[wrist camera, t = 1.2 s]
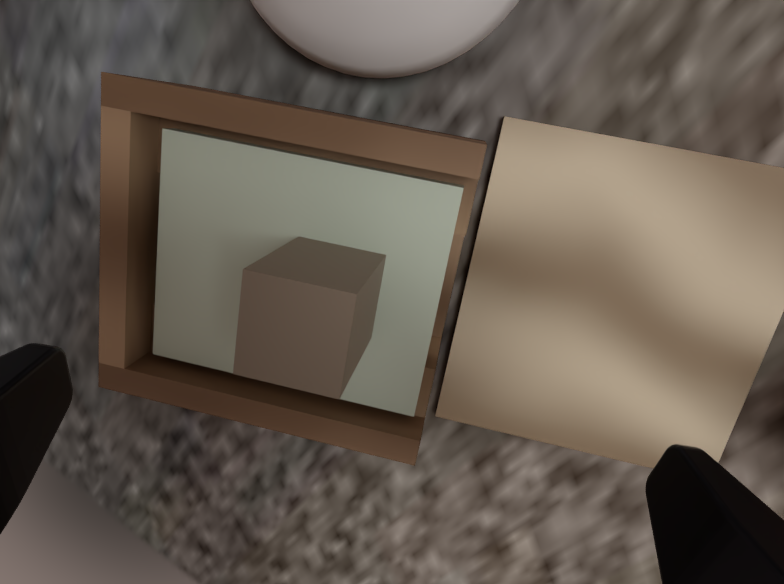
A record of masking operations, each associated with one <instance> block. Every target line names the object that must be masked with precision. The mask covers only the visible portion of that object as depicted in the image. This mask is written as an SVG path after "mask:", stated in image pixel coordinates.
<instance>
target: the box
mask: <svg viewBox="0 0 784 584" xmlns="http://www.w3.org/2000/svg"><path fill="white" fill-rule="evenodd" d="M162 128H176V129H181V130H186V131H191V132H196V133H201V134H206V135H211V136H216V137H221V138H227V139H232V140H237V141H242V142H247V143H252V144H257V145H262V146H267V147H272V148H277V149H282V150H287V151H292V152H297V153H303V154H308V155H313V156H318V157H323V158H328V159H333V160H338V161H343V162H348V163H353V164H358V165H363V166H368V167H373V168H378V169H384V170H389V171H394V172H399V173H404V174H409V175H414V176H419V177H424V178H429V179H434V180H439V181H444V182H449V183H454V184H460V185H464V189H463V193H462V198H461V203H460V207H459V212H458V217H457V221H456V226H455V230H454V235H453V240H452V244H451V249H450V253H449V258H448V263H447V267H446V272H445V276H444V281H443V286H442V290H441V295H440V299H439V304H438V309H437V313H436V318H435V322H434V327H433V332H432V336H431V341H430V345H429V350H428V355H427V359H426V364H425V369H424V373H423V378H422V382H421V387H420V392H419V396H418V401H417V405H416V410H415V414H414V417H413V416H409V415H404V414H400V413H396V412H392V411H388V410H384V409H379V408H375V407H371V406H367V405H363V404H359V403H354V402H350V401H346V400H342V399H335V398H331V397H327V396H323V395H318V394H314V393H310V392H306V391H302V390H298V389H293V388H289V387H285V386H281V385H277V384H273V383H269V382H264V381H260V380H256V379H252V378H248V377H244V376H239V375H235V374H233V373H230V372H226V371H221V370H217V369H213V368H209V367H205V366H201V365H196V364H192V363H188V362H184V361H180V360H176V359H171V358H167V357H163V356H159V355H155V354H153V333H154V310H155V287H156V264H157V240H158V217H159V194H160V171H161V147H162ZM486 147H487V144H486V142H485V141H482V140H477V139H471V138H466V137H461V136H455V135H450V134H445V133H440V132H434V131H429V130H424V129H418V128H413V127H408V126H402V125H397V124H392V123H387V122H381V121H376V120H371V119H365V118H360V117H355V116H350V115H344V114H339V113H334V112H328V111H323V110H318V109H312V108H307V107H302V106H297V105H291V104H286V103H281V102H275V101H270V100H265V99H260V98H254V97H249V96H244V95H238V94H233V93H228V92H222V91H217V90H212V89H207V88H201V87H196V86H190V85H183V84H177V83H170V82H164V81H157V80H151V79H144V78H138V77H131V76H125V75H119V74H112V73H106V72H101V173H100V284H99V387H101V388H105V389H109V390H114V391H118V392H122V393H126V394H130V395H134V396H138V397H142V398H146V399H150V400H154V401H158V402H162V403H166V404H170V405H174V406H178V407H182V408H186V409H190V410H194V411H198V412H202V413H206V414H210V415H214V416H218V417H222V418H226V419H230V420H234V421H238V422H242V423H246V424H250V425H254V426H258V427H262V428H266V429H270V430H274V431H278V432H282V433H286V434H290V435H294V436H298V437H302V438H306V439H310V440H314V441H318V442H322V443H326V444H330V445H334V446H338V447H342V448H346V449H350V450H354V451H358V452H363V453H367V454H371V455H375V456H379V457H383V458H387V459H391V460H395V461H399V462H403V463H407V464H411V465H415V463H416V459H417V454H418V450H419V445H420V441H421V435H422V430H423V425H424V420H425V415H426V410H427V406H428V402H429V397H430V393H431V388H432V384H433V379H434V375H435V370H436V365H437V360H438V354H439V349H440V343H441V338H442V333H443V329H444V324H445V320H446V315H447V311H448V306H449V302H450V298H451V293H452V289H453V284H454V280H455V275H456V271H457V266H458V262H459V257H460V253H461V248H462V244H463V239H464V236H466V232H467V228H468V223H469V219H470V214H471V210H472V205H473V201H474V197H475V192H476V188H477V183H478V180H479V178H480V174H481V170H482V165H483V161H484V156H485V152H486Z"/></svg>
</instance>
